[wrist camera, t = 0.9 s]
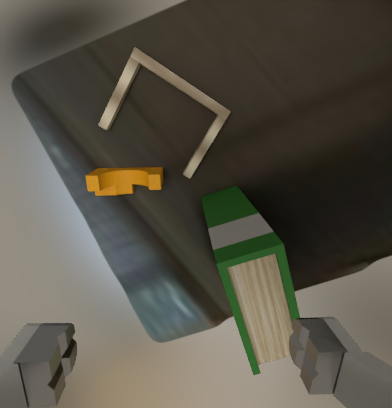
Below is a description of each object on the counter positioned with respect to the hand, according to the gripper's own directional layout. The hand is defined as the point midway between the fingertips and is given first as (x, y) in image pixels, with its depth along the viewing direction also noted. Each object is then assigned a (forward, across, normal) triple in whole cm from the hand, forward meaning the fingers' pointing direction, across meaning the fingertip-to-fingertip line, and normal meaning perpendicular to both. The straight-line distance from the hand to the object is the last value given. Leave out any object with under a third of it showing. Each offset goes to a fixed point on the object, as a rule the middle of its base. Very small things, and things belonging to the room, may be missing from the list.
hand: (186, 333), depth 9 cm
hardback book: (+40, -11, +13) cm, 44 cm away
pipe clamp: (+41, +9, +3) cm, 42 cm away
